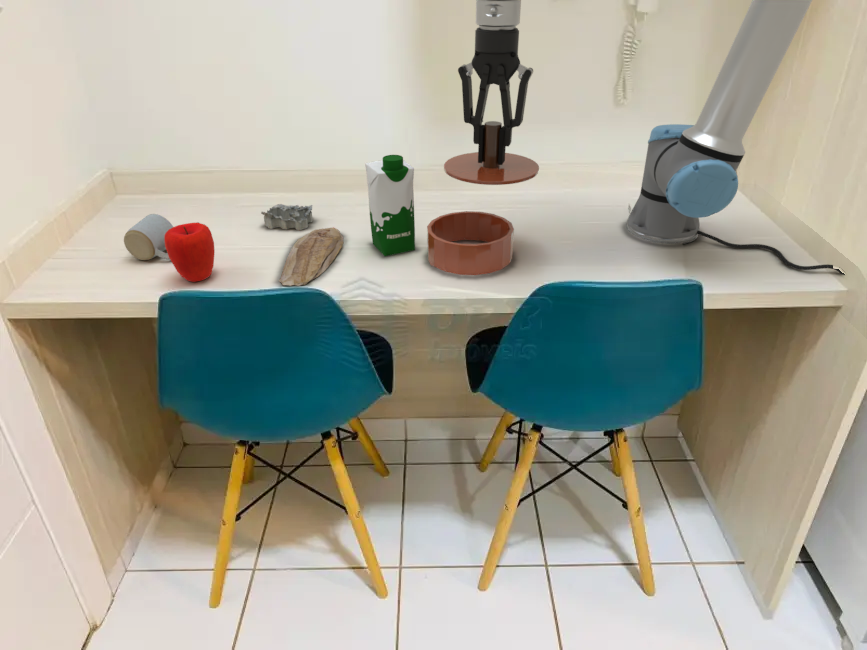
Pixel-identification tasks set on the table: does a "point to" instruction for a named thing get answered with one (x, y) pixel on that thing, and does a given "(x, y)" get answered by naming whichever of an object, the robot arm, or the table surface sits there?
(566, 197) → the table surface
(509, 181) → the lid
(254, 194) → the table surface
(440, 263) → the pot
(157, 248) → the ceramic mug
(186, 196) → the table surface
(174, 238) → the apple
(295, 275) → the fish fossil
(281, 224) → the egg carton
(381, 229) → the milk carton
